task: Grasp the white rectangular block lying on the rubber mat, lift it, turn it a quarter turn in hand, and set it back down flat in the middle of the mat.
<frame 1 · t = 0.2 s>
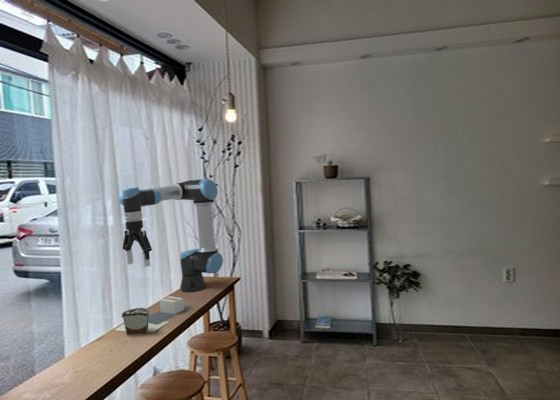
hand: (138, 265, 184), 27 cm above the table, fingers open, 13 cm apart
white rectangular block: (172, 310, 197), resting on mat
mat: (166, 314, 193), on the table
food container: (140, 332, 174), on the table
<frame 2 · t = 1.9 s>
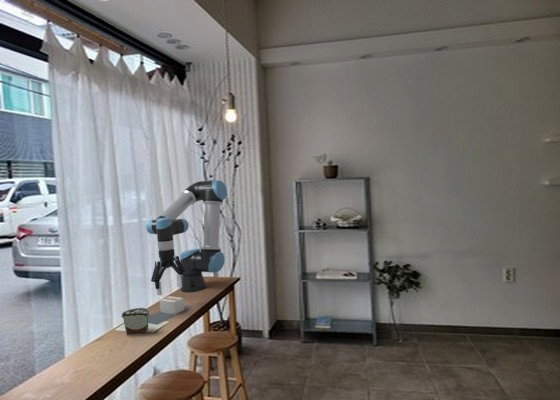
hand: (170, 291, 195), 11 cm above the table, fingers open, 13 cm apart
nothing on the table moved.
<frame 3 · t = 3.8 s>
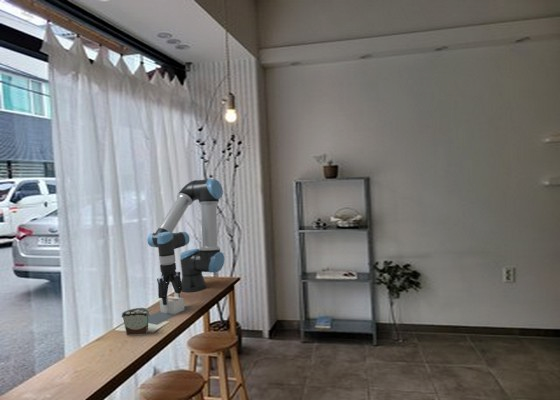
hand: (172, 308, 196), 2 cm above the table, fingers closed on white rectangular block, 6 cm apart
white rectangular block: (172, 310, 197), resting on mat, touching gripper
everything else where it was.
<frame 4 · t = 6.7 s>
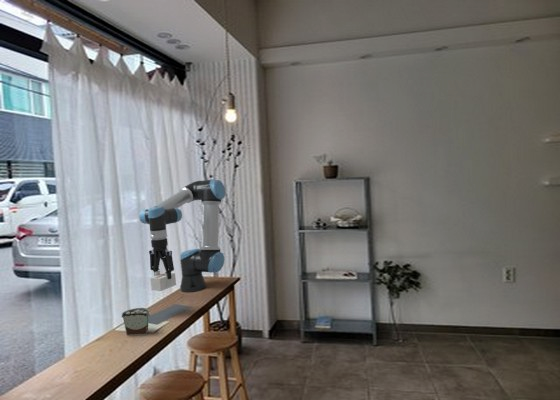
hand: (163, 284, 192), 15 cm above the table, fingers closed on white rectangular block, 6 cm apart
white rectangular block: (164, 287, 192), point 14 cm above the table, touching gripper
everything else where it was.
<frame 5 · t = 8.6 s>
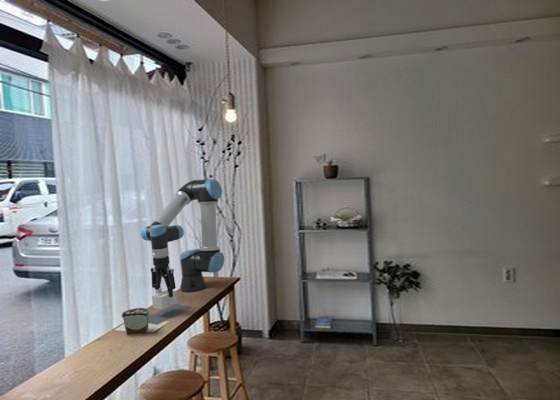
hand: (165, 302, 192), 6 cm above the table, fingers closed on white rectangular block, 6 cm apart
white rectangular block: (165, 305, 193), point 5 cm above the table, touching gripper
everything else where it was.
when the fingers open (3 cm above the table, at t = 9.9 s): white rectangular block drops 2 cm, resting on mat.
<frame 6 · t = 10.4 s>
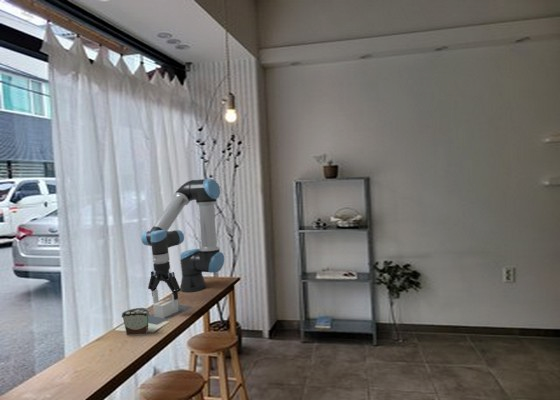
hand: (165, 304, 193), 5 cm above the table, fingers open, 13 cm apart
white rectangular block: (166, 313, 193), resting on mat
everything else where it was.
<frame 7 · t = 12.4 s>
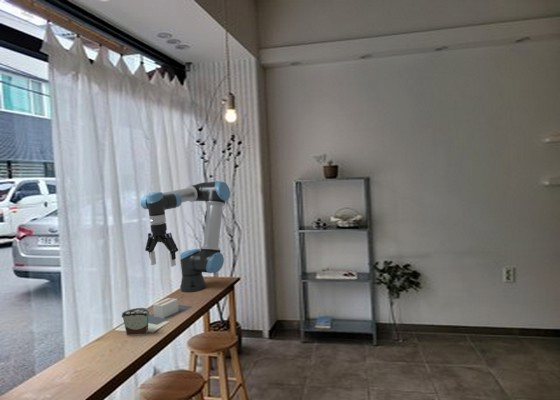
hand: (163, 265, 195), 24 cm above the table, fingers open, 13 cm apart
nothing on the table moved.
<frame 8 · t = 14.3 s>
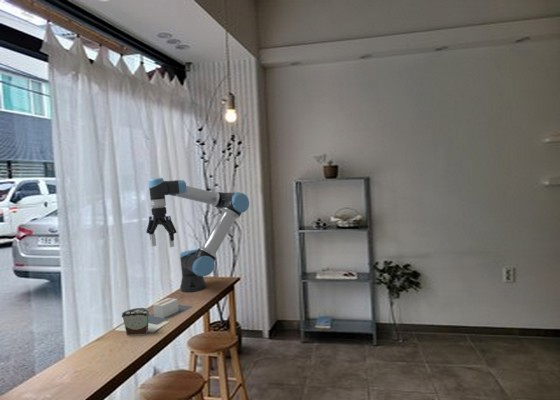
hand: (162, 246, 210), 31 cm above the table, fingers open, 13 cm apart
nothing on the table moved.
at the end: white rectangular block 0.0 cm off-centre on the mat, point 0.4 cm above the mat's base; white rectangular block tilted 0°; the gripper is holding nothing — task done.
